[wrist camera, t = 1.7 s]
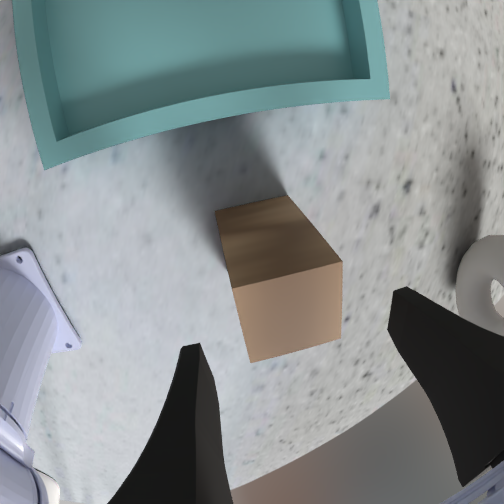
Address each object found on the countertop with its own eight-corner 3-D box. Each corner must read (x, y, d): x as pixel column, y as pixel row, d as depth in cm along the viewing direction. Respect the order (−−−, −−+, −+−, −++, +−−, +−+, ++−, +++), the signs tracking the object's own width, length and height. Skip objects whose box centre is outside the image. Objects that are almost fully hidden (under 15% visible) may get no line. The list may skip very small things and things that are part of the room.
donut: (458, 216, 20) (554, 289, 12) (485, 209, 21) (575, 273, 12) (437, 315, 25) (500, 392, 17) (463, 304, 26) (524, 373, 17)
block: (228, 273, 19) (250, 362, 13) (214, 211, 17) (231, 288, 11) (294, 257, 19) (340, 338, 13) (287, 195, 17) (342, 261, 11)
